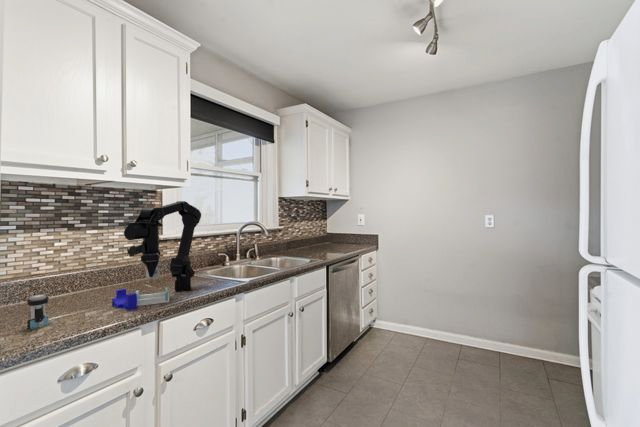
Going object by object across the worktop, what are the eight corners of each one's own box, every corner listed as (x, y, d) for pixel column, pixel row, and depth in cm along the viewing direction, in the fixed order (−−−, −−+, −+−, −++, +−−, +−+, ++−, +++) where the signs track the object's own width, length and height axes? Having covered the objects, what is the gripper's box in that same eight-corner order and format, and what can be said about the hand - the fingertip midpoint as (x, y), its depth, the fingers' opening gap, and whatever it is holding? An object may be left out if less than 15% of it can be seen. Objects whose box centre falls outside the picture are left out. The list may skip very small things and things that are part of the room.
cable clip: (112, 306, 123) (111, 291, 123) (124, 303, 127) (124, 288, 127) (123, 312, 116) (123, 296, 116) (136, 309, 119) (136, 293, 119)
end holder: (169, 296, 136) (169, 286, 136) (169, 302, 127) (169, 292, 127) (135, 299, 131) (135, 290, 131) (132, 306, 122) (132, 296, 122)
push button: (47, 321, 106) (47, 292, 106) (57, 323, 104) (57, 293, 104) (23, 328, 100) (22, 297, 100) (33, 330, 98) (32, 299, 98)
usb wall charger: (149, 279, 125) (149, 269, 125) (144, 277, 130) (144, 267, 130) (159, 278, 128) (159, 268, 128) (154, 275, 133) (154, 266, 133)
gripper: (131, 236, 134) (131, 272, 134) (125, 240, 117) (126, 282, 117) (160, 235, 138) (160, 270, 139) (158, 239, 122) (159, 278, 122)
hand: (151, 275), depth 129 cm, fingers closed on usb wall charger, 7 cm apart
